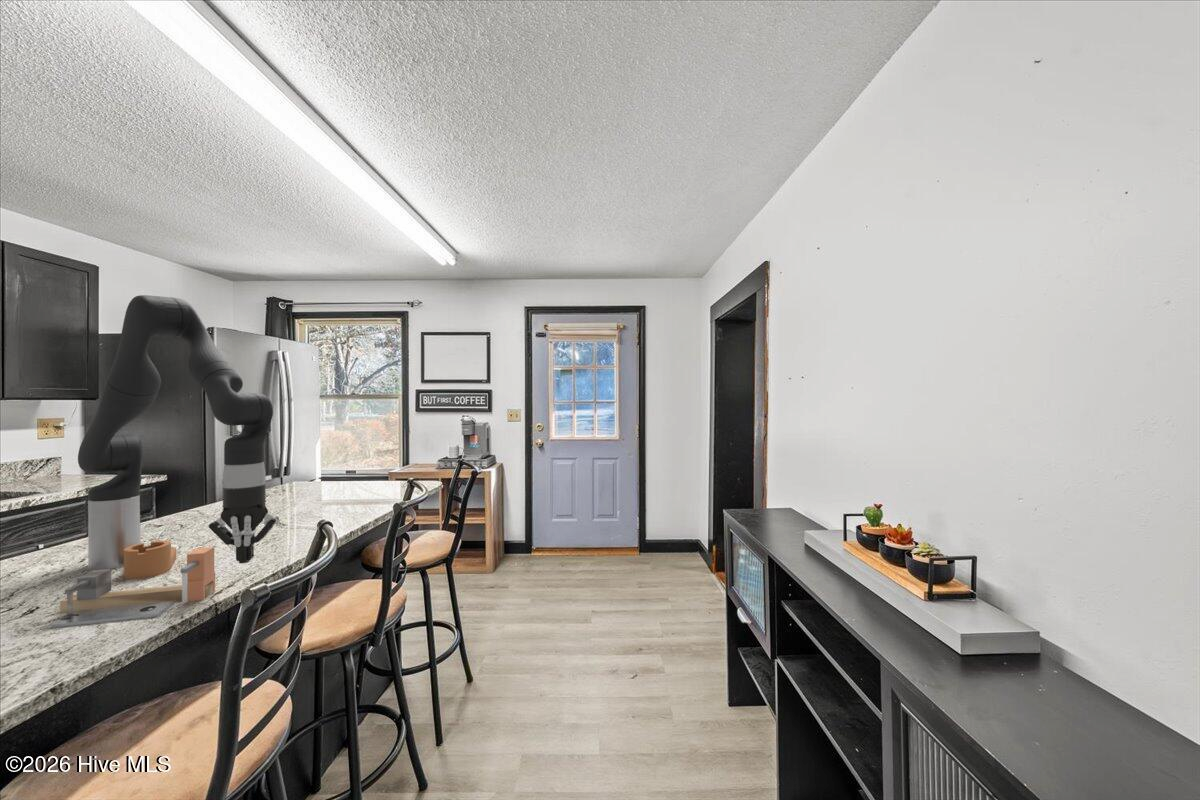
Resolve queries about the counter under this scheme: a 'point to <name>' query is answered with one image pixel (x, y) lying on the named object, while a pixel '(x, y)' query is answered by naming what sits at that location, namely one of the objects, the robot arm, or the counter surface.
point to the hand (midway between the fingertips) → (244, 562)
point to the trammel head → (198, 574)
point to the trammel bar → (115, 593)
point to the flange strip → (113, 614)
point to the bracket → (148, 559)
